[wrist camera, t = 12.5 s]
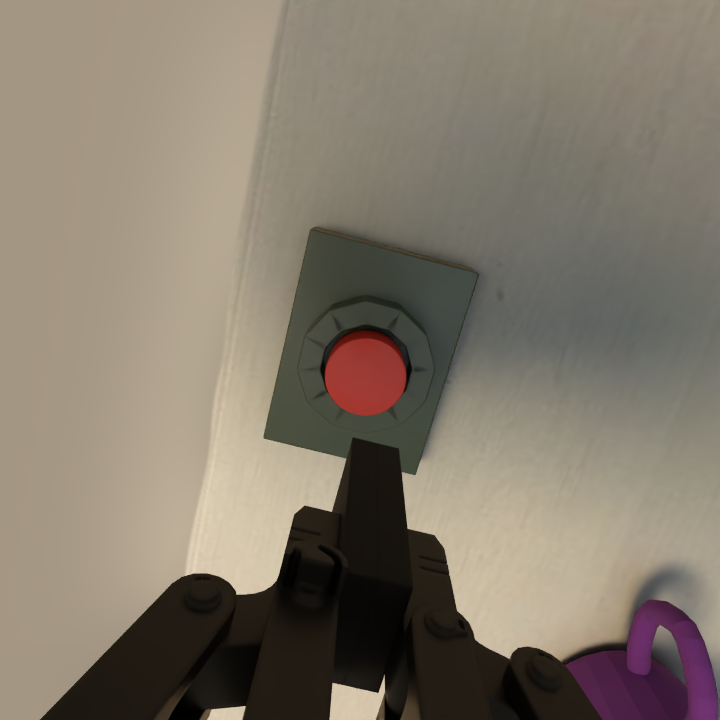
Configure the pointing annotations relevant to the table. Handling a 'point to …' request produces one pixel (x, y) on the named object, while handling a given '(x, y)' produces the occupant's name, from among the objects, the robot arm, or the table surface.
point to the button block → (376, 313)
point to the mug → (651, 672)
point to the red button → (365, 373)
